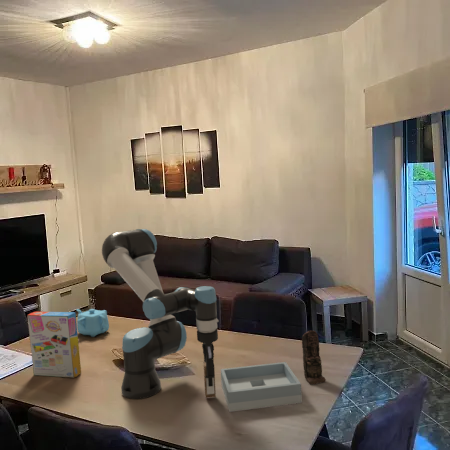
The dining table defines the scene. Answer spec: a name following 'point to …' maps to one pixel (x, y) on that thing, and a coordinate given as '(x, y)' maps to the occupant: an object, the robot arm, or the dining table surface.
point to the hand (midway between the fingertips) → (210, 390)
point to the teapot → (92, 322)
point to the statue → (312, 358)
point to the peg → (206, 384)
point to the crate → (260, 386)
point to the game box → (54, 344)
